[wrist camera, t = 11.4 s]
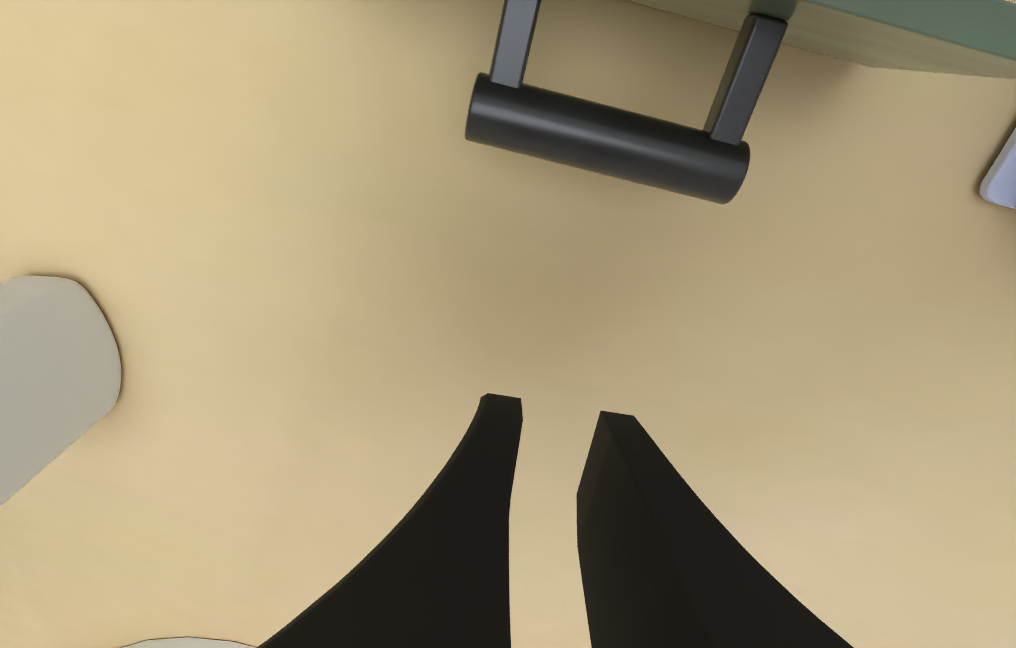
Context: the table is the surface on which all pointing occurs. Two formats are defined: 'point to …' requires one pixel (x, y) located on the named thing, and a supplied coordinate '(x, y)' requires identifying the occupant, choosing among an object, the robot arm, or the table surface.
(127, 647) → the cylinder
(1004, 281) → the table surface
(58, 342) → the eye dropper bottle
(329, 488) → the table surface
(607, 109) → the drawer
